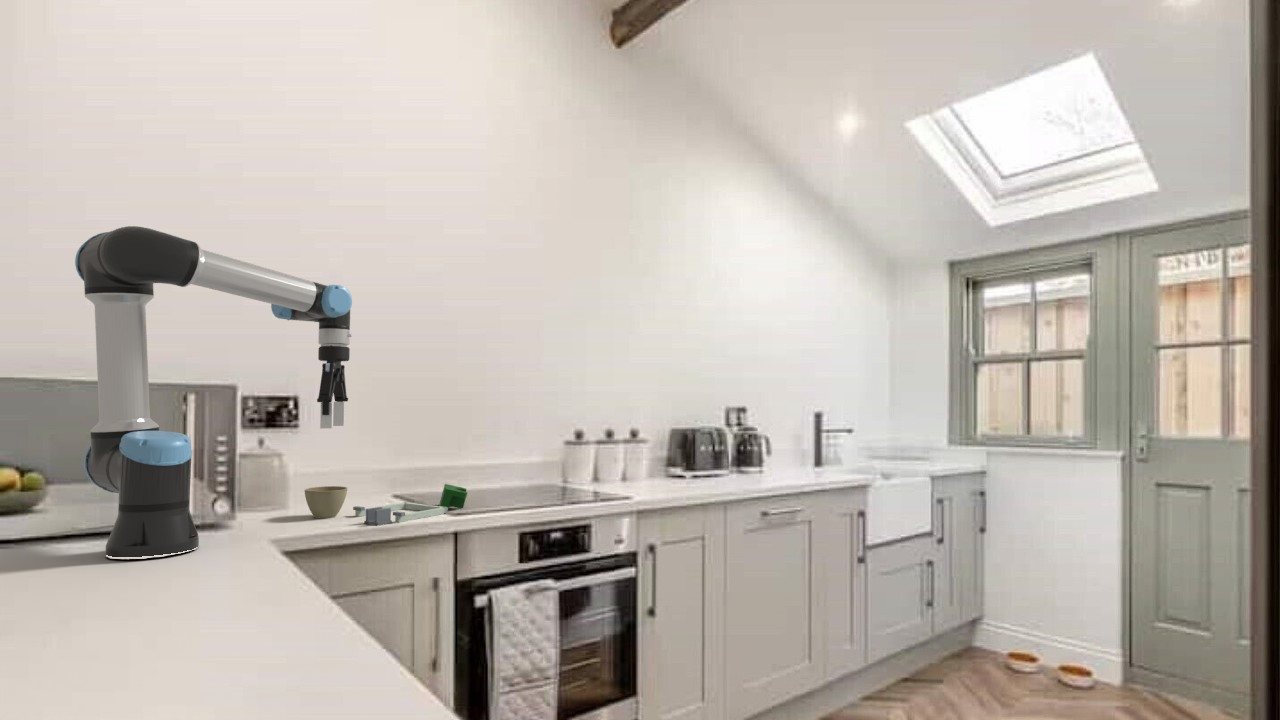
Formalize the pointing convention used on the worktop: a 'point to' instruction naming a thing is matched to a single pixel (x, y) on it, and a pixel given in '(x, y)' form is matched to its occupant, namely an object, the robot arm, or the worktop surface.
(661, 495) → the worktop surface
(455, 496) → the clamp
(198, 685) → the worktop surface
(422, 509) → the holder
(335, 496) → the flower pot
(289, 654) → the worktop surface
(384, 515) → the clip
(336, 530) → the worktop surface
